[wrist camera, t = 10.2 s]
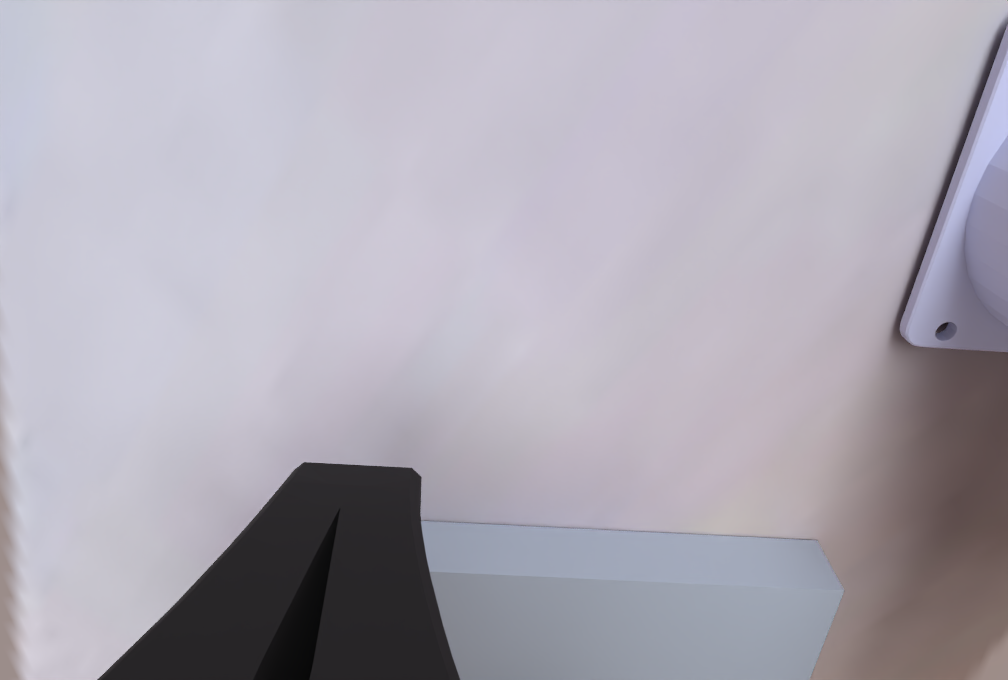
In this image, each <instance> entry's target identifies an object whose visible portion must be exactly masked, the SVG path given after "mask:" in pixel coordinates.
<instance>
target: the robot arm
mask: <svg viewBox="0 0 1008 680" xmlns="http://www.w3.org/2000/svg"><path fill="white" fill-rule="evenodd" d="M946 322H948V326H947V327H946V329H945V330H943V331H942V332H940V333H936V330H937V328H938V327H939V326H940V325H942V324H943V323H946ZM900 332H901V335H902V336H903V337H904V338H905V339H906V340H907V341H908V342H909V343H910V344H911V345H913V346H917V347H928V348H944V349H960V350H977V351H993V352H1008V25H1007V27H1006V30H1005V33H1004V36H1003V39H1002V41H1001V44H1000V47H999V50H998V52H997V55H996V58H995V61H994V64H993V66H992V69H991V72H990V75H989V78H988V80H987V83H986V86H985V89H984V91H983V94H982V97H981V100H980V103H979V105H978V108H977V111H976V114H975V117H974V119H973V122H972V125H971V128H970V130H969V133H968V136H967V139H966V142H965V144H964V147H963V150H962V153H961V156H960V158H959V161H958V164H957V167H956V169H955V172H954V175H953V178H952V181H951V183H950V186H949V189H948V192H947V195H946V197H945V200H944V203H943V206H942V208H941V211H940V214H939V217H938V220H937V222H936V225H935V228H934V231H933V234H932V236H931V239H930V242H929V245H928V248H927V250H926V253H925V256H924V259H923V261H922V264H921V267H920V270H919V273H918V275H917V278H916V281H915V284H914V287H913V289H912V292H911V295H910V298H909V300H908V303H907V306H906V309H905V312H904V314H903V317H902V320H901V323H900ZM935 333H936V334H935ZM420 505H421V476H420V475H419V474H418V473H417V472H416V471H414V470H413V469H412V468H402V467H382V466H363V465H344V464H325V463H306V462H304V463H303V464H301V465H300V466H299V467H297V468H296V469H295V470H294V471H293V472H292V473H291V475H290V476H289V477H288V478H287V480H286V481H285V482H284V483H283V484H282V486H281V487H280V488H279V489H278V490H277V492H276V493H275V494H274V495H273V496H272V498H271V499H270V500H269V501H268V502H267V504H266V505H265V506H264V507H263V508H262V510H261V511H260V512H259V513H258V514H257V515H256V516H255V518H254V519H253V520H252V521H251V522H250V523H249V525H248V526H247V527H246V528H245V529H244V530H243V531H242V532H241V534H240V535H239V536H238V537H237V538H236V539H235V540H234V542H233V543H232V544H231V545H230V546H229V547H228V548H227V549H226V550H225V551H224V553H223V554H222V555H221V556H220V557H219V558H218V559H217V560H216V561H215V562H214V563H213V564H212V565H211V566H210V567H209V569H208V570H207V571H206V572H205V573H204V574H203V575H202V576H201V577H200V578H199V579H198V580H197V581H196V582H195V584H194V585H193V586H192V587H191V588H190V589H189V590H188V591H187V592H186V593H185V594H184V595H183V596H182V597H181V598H180V599H179V601H178V602H177V603H176V604H175V605H174V606H173V607H172V608H171V609H170V610H169V611H168V612H167V613H166V614H165V615H164V616H163V617H162V618H161V619H160V620H159V621H158V622H157V623H155V624H154V625H153V626H152V627H151V628H150V629H149V630H148V631H147V632H146V633H145V634H144V635H143V636H142V637H141V638H140V639H139V640H138V641H137V642H136V643H135V644H134V645H133V646H132V647H131V648H130V649H129V650H128V651H127V652H126V653H125V654H124V655H123V656H121V657H120V658H119V659H118V660H117V661H116V662H115V663H114V664H113V665H112V666H111V667H110V668H109V669H108V670H107V671H106V672H105V673H104V674H103V675H102V676H101V677H100V678H99V679H98V680H460V678H459V675H458V672H457V669H456V666H455V663H454V660H453V657H452V653H451V650H450V647H449V643H448V640H447V637H446V633H445V630H444V627H443V623H442V619H441V615H440V611H439V607H438V603H437V600H436V596H435V592H434V588H433V584H432V580H431V576H430V571H429V567H428V562H427V557H426V551H425V545H424V539H423V533H422V526H421V517H420Z"/></svg>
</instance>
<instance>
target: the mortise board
mask: <svg viewBox="0 0 1008 680" xmlns="http://www.w3.org/2000/svg"><path fill="white" fill-rule="evenodd" d="M421 526H422V533H423V539H424V545H425V551H426V557H427V562H428V567H429V571H430V576H431V580H432V584H433V588H434V592H435V596H436V600H437V603H438V607H439V611H440V615H441V619H442V623H443V627H444V630H445V633H446V637H447V640H448V643H449V647H450V650H451V653H452V657H453V660H454V663H455V666H456V669H457V672H458V675H459V678H460V680H810V677H811V675H812V672H813V670H814V667H815V665H816V662H817V660H818V657H819V654H820V652H821V649H822V647H823V644H824V642H825V639H826V637H827V634H828V632H829V629H830V626H831V624H832V621H833V619H834V616H835V614H836V611H837V609H838V606H839V604H840V601H841V598H842V596H843V593H844V589H843V587H842V585H841V583H840V581H839V580H838V578H837V576H836V574H835V572H834V570H833V569H832V567H831V565H830V563H829V561H828V559H827V558H826V556H825V554H824V552H823V550H822V548H821V547H820V545H819V543H818V541H817V540H800V539H780V538H760V537H739V536H719V535H699V534H678V533H658V532H637V531H617V530H597V529H576V528H556V527H535V526H515V525H495V524H474V523H454V522H433V521H421Z"/></svg>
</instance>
